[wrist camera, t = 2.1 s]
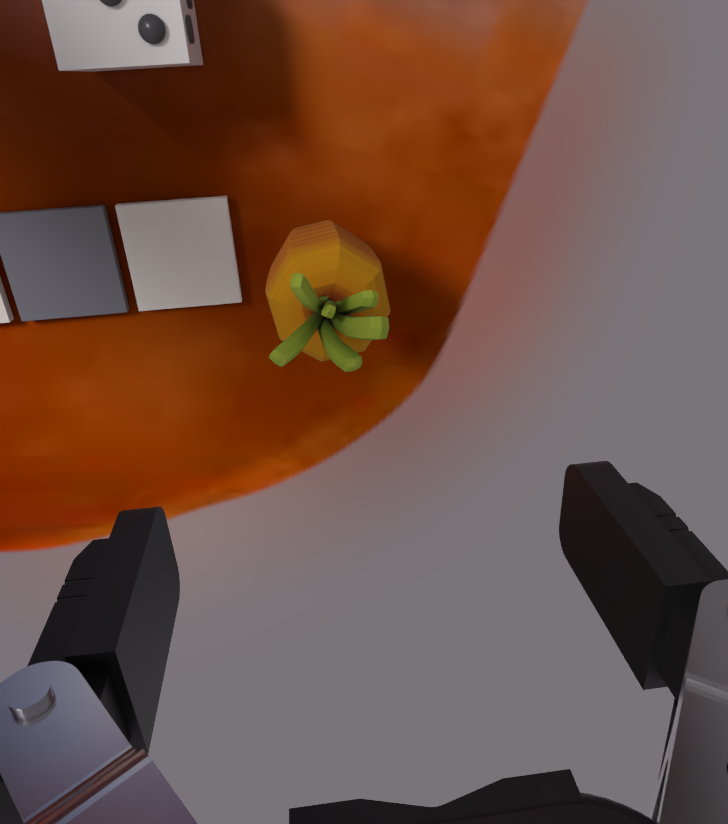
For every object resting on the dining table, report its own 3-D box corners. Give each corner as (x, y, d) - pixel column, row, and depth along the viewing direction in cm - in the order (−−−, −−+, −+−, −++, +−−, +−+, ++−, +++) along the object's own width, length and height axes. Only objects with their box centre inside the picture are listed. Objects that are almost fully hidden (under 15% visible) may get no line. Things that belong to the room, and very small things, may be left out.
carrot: (264, 281, 35) (253, 407, 21) (275, 185, 32) (269, 260, 19) (355, 294, 36) (398, 422, 22) (371, 202, 33) (429, 284, 20)
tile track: (-268, 232, 31) (-278, 234, 30) (227, 195, 32) (226, 197, 32) (-215, 338, 33) (-223, 342, 33) (242, 299, 35) (241, 302, 34)
